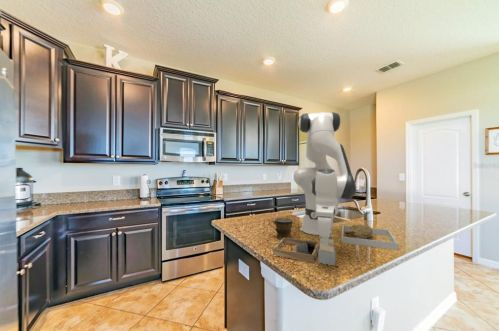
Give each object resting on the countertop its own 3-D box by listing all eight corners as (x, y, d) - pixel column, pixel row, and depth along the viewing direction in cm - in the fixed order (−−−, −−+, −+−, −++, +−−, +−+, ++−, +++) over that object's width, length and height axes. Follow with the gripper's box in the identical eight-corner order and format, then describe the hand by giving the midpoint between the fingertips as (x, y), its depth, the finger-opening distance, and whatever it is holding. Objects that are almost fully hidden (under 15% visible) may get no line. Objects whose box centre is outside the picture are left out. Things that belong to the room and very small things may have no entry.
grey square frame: (342, 230, 132) (342, 225, 132) (388, 235, 121) (388, 229, 122) (341, 242, 110) (341, 236, 110) (397, 249, 100) (397, 243, 100)
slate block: (320, 257, 91) (320, 245, 91) (335, 260, 89) (335, 248, 89) (318, 263, 86) (318, 250, 86) (334, 266, 83) (334, 253, 83)
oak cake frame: (283, 243, 109) (283, 237, 109) (318, 248, 102) (318, 242, 102) (272, 256, 93) (272, 249, 93) (313, 263, 86) (313, 255, 86)
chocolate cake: (302, 248, 103) (291, 235, 97) (316, 246, 100) (306, 233, 94) (302, 268, 96) (291, 255, 90) (317, 267, 93) (306, 253, 87)
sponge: (362, 246, 107) (382, 232, 117) (357, 231, 108) (378, 218, 118) (340, 243, 118) (360, 231, 129) (336, 230, 119) (356, 218, 129)
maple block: (321, 246, 91) (321, 234, 91) (333, 248, 89) (333, 236, 89) (319, 250, 86) (319, 238, 86) (333, 252, 84) (333, 239, 84)
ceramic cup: (291, 235, 122) (291, 217, 123) (293, 241, 113) (293, 222, 113) (269, 234, 124) (269, 217, 124) (269, 240, 114) (269, 221, 114)
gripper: (321, 203, 98) (321, 233, 98) (315, 212, 80) (315, 249, 80) (335, 204, 96) (336, 235, 96) (333, 213, 77) (333, 251, 77)
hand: (326, 241), depth 87 cm, fingers open, 8 cm apart
